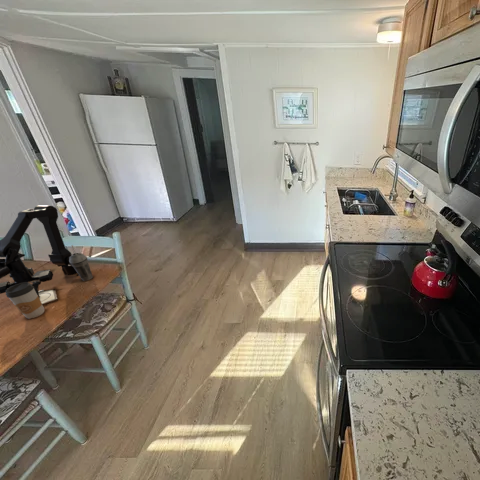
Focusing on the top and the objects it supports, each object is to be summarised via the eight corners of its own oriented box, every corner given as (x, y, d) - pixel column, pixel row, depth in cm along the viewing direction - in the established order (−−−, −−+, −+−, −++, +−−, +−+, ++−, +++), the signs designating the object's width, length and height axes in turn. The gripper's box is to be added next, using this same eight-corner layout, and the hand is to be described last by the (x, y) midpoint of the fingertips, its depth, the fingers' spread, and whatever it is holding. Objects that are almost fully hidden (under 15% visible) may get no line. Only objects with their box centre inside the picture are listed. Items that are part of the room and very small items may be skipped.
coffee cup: (18, 322, 115) (-1, 295, 108) (28, 310, 122) (10, 284, 115) (43, 317, 118) (25, 290, 111) (51, 305, 125) (35, 279, 118)
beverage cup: (77, 283, 140) (59, 251, 131) (81, 276, 146) (64, 244, 136) (94, 280, 143) (78, 247, 134) (97, 273, 149) (82, 241, 139)
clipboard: (54, 287, 137) (53, 285, 137) (57, 299, 129) (56, 297, 128) (22, 298, 130) (20, 296, 129) (23, 312, 121) (21, 310, 120)
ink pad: (53, 270, 152) (52, 268, 151) (46, 276, 146) (45, 275, 146) (37, 272, 150) (37, 271, 150) (30, 279, 144) (29, 278, 144)
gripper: (46, 255, 132) (61, 281, 139) (-8, 268, 122) (11, 295, 129) (43, 265, 124) (59, 291, 131) (-15, 279, 114) (5, 307, 121)
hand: (34, 296), depth 129 cm, fingers closed on stamp, 2 cm apart
